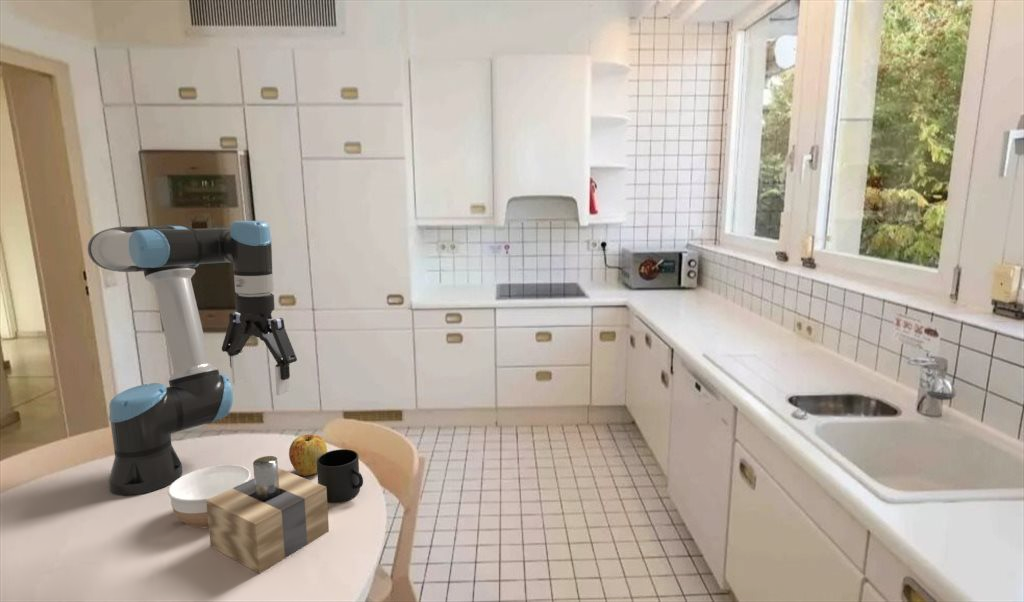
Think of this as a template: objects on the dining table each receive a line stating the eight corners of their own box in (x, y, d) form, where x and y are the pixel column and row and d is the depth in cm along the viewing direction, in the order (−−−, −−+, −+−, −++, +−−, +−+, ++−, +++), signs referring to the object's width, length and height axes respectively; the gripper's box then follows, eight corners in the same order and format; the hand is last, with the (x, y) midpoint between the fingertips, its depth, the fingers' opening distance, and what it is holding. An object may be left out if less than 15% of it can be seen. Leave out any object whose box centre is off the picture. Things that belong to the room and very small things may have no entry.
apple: (314, 461, 145) (312, 425, 144) (335, 470, 140) (333, 434, 138) (283, 474, 138) (281, 437, 136) (304, 484, 133) (301, 446, 131)
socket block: (210, 546, 108) (206, 500, 107) (280, 509, 122) (277, 467, 120) (259, 573, 100) (255, 524, 99) (328, 530, 114) (326, 486, 112)
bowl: (269, 504, 124) (266, 472, 122) (204, 543, 109) (200, 507, 108) (221, 489, 130) (218, 458, 129) (154, 524, 116) (150, 489, 115)
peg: (251, 504, 109) (248, 462, 107) (271, 494, 113) (268, 454, 111) (265, 510, 107) (262, 468, 105) (284, 500, 110) (281, 459, 109)
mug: (349, 510, 122) (347, 472, 120) (309, 497, 127) (307, 461, 125) (376, 490, 130) (375, 455, 129) (338, 480, 135) (336, 446, 134)
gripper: (199, 290, 117) (206, 383, 121) (283, 302, 107) (288, 403, 111) (230, 286, 124) (236, 374, 128) (311, 296, 114) (315, 392, 118)
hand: (260, 388), depth 119 cm, fingers open, 13 cm apart
